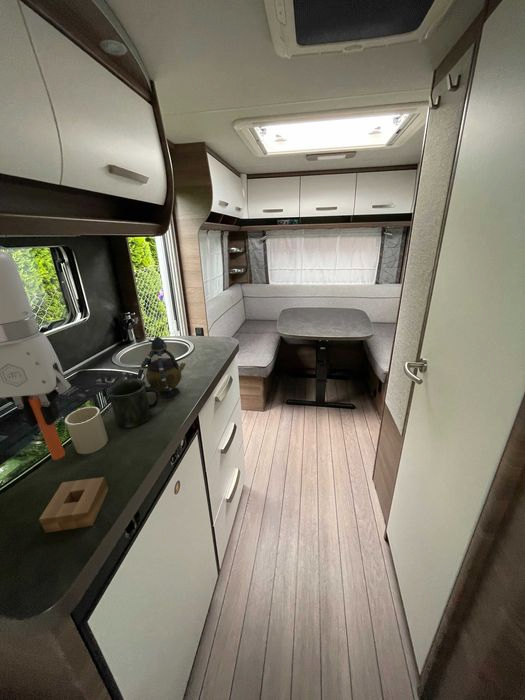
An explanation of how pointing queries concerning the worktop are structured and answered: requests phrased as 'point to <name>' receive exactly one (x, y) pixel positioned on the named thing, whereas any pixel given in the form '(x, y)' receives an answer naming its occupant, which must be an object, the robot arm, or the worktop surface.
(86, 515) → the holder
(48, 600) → the worktop surface
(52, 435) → the orange rod
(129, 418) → the mug
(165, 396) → the teapot
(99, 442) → the cup
